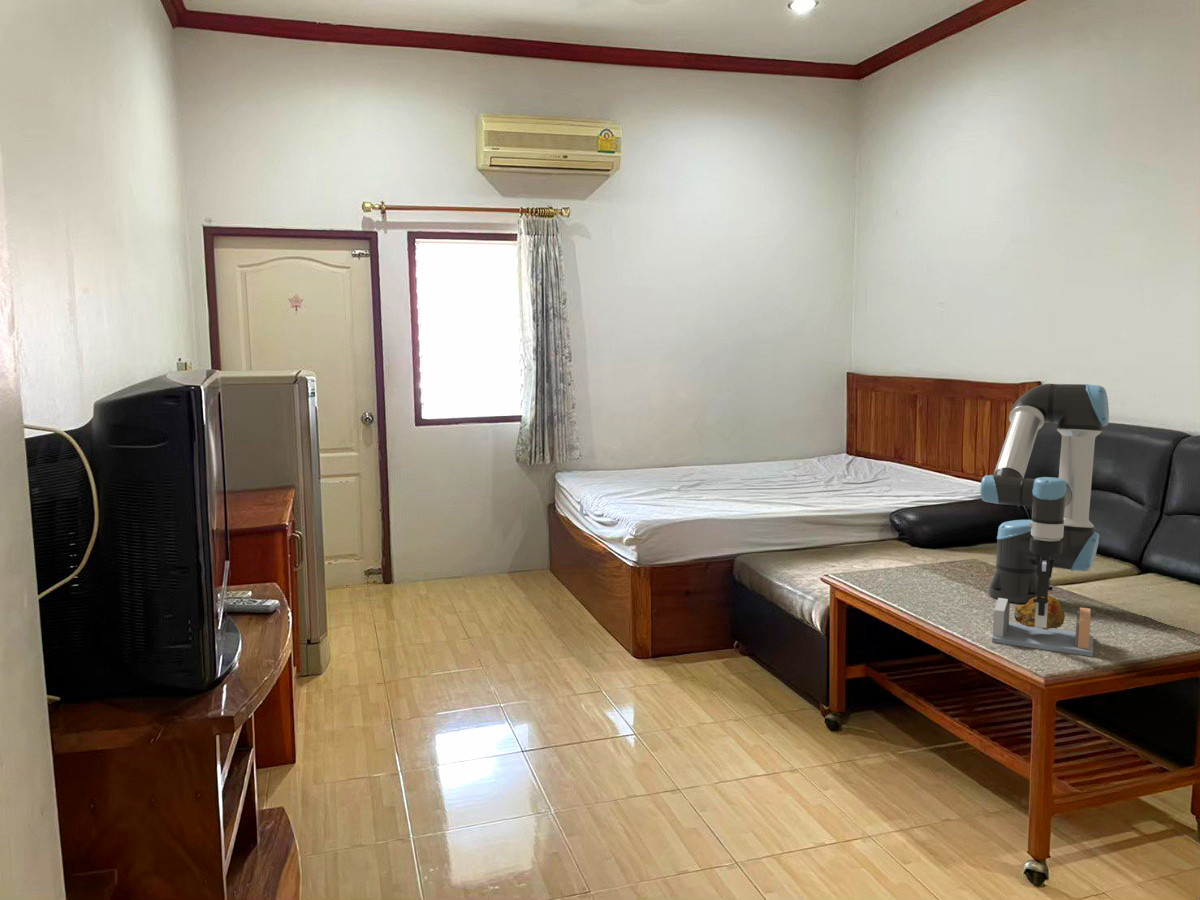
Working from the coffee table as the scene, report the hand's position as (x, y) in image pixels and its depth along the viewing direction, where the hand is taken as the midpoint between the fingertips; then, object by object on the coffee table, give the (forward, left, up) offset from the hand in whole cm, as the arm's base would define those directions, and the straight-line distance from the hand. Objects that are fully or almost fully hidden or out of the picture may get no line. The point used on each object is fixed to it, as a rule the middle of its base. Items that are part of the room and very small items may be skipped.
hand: (1041, 620), depth 233 cm
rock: (-1, 0, -2) cm, 2 cm away
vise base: (0, +1, -5) cm, 5 cm away
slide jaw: (0, +9, -4) cm, 10 cm away
